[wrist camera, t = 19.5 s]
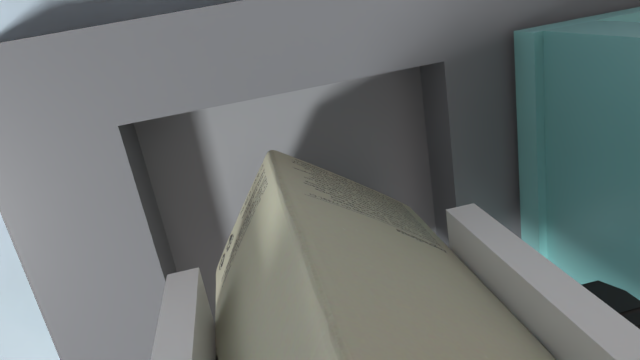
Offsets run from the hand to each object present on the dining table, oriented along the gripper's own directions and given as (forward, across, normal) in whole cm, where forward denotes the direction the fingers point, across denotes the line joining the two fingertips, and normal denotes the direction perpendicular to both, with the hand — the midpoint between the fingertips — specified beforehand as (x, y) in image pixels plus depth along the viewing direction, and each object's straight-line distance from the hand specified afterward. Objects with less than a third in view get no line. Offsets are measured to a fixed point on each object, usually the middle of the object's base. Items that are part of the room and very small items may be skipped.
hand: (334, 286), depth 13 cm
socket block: (+5, +2, 0) cm, 5 cm away
